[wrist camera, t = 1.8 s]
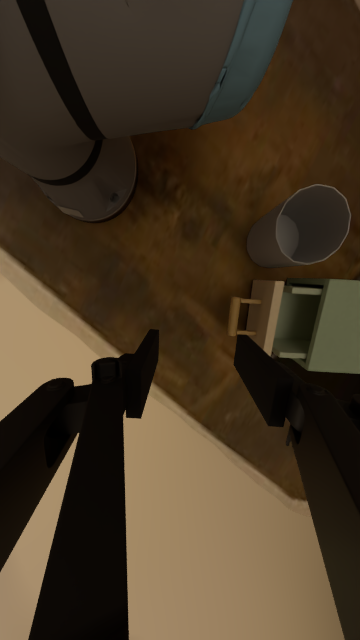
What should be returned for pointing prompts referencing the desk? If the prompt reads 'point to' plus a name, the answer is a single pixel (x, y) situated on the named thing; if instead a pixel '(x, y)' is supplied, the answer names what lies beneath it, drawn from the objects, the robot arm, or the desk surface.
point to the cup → (301, 229)
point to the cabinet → (334, 326)
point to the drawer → (278, 317)
